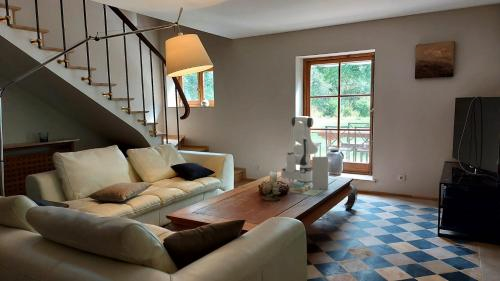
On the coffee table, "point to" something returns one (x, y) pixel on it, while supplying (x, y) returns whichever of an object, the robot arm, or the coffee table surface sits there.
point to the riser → (300, 189)
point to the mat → (313, 192)
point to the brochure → (320, 172)
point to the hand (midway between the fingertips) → (291, 183)
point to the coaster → (299, 184)
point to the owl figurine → (271, 191)
